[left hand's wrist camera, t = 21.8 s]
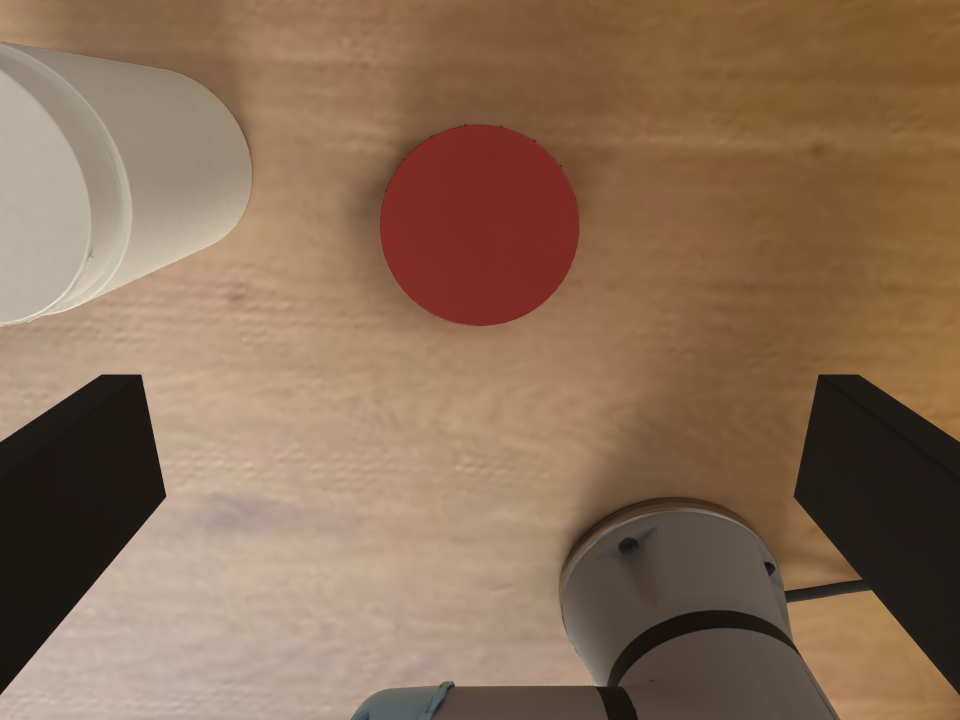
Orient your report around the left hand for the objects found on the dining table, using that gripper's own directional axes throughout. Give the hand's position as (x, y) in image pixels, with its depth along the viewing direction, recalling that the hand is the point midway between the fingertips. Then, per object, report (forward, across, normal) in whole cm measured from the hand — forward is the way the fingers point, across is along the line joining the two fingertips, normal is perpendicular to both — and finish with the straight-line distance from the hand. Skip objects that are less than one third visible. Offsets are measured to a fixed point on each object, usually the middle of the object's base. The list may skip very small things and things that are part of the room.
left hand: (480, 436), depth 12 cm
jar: (+26, +18, -4) cm, 31 cm away
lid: (+24, 0, 0) cm, 24 cm away
